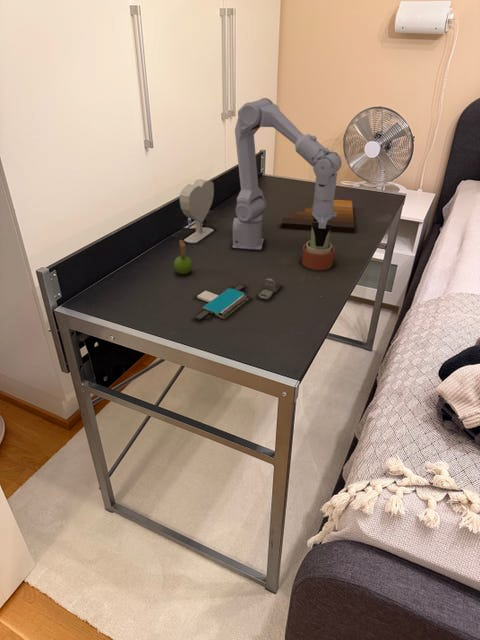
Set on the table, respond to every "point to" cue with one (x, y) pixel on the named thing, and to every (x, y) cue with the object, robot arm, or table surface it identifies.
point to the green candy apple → (182, 260)
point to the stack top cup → (318, 251)
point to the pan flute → (339, 223)
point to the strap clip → (268, 289)
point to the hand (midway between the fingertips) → (319, 241)
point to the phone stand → (222, 302)
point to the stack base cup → (317, 259)
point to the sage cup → (312, 240)
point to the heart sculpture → (197, 206)
